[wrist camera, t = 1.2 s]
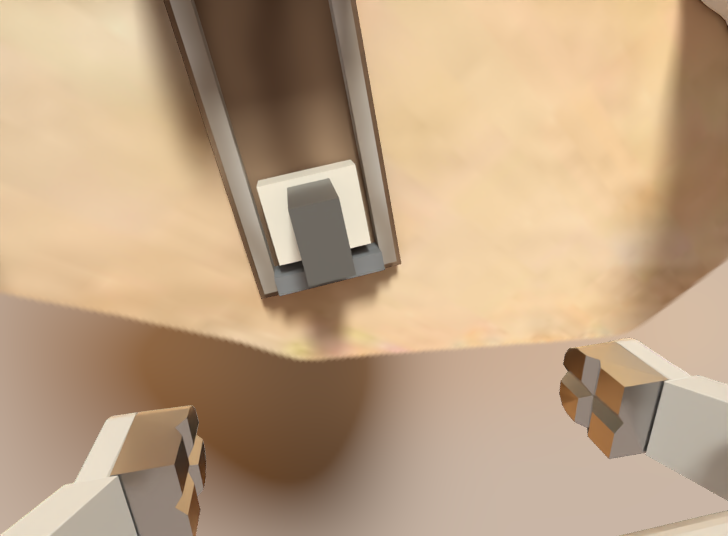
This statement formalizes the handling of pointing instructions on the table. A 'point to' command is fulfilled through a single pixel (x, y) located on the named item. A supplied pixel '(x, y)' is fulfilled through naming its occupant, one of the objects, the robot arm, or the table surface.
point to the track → (285, 113)
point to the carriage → (316, 219)
